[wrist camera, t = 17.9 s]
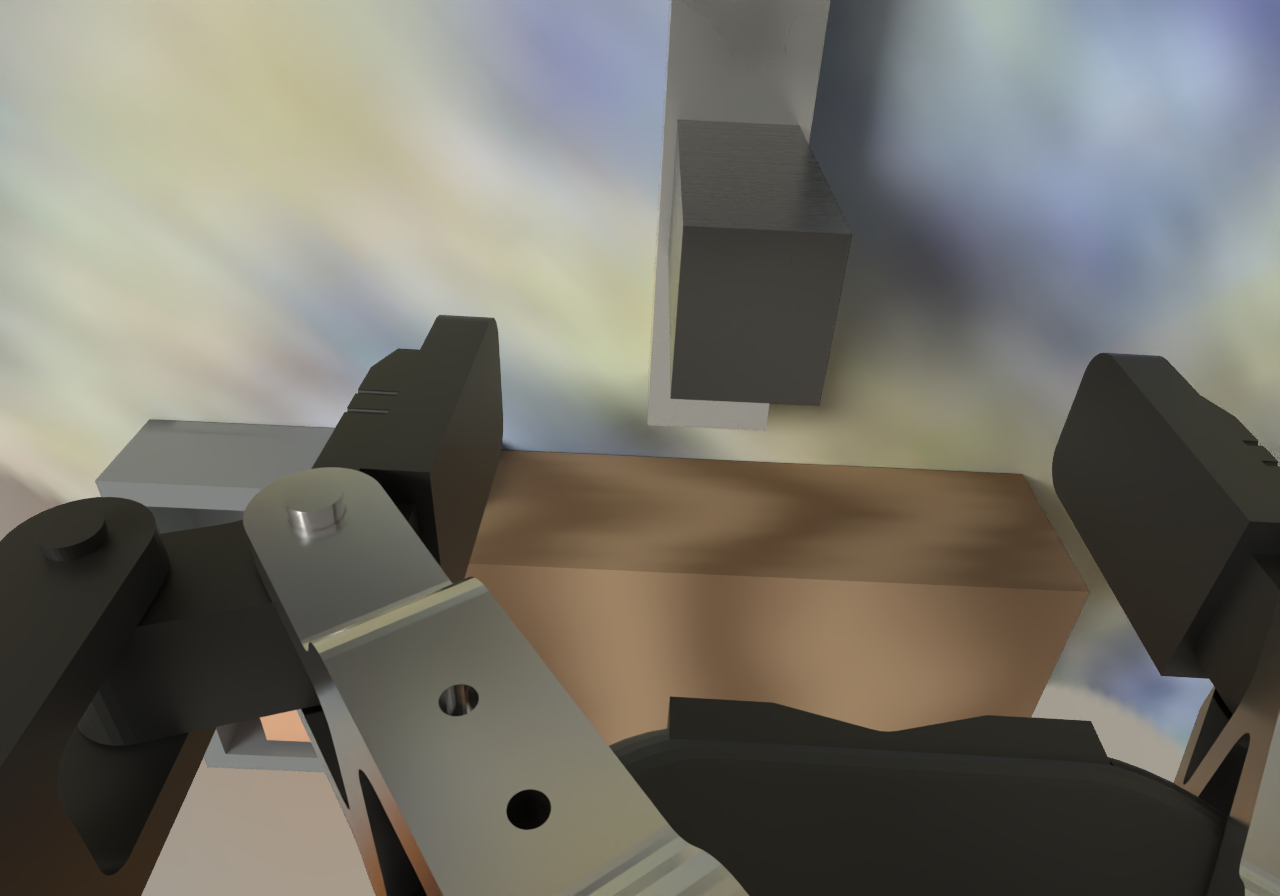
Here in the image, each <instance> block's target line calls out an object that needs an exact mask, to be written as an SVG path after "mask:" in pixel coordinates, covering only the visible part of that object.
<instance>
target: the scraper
mask: <svg viewBox="0 0 1280 896" xmlns="http://www.w3.org/2000/svg"><path fill="white" fill-rule="evenodd" d="M830 1H831V0H669V18H668V36H667V54H666V72H665V90H664V108H663V126H662V144H661V161H660V179H659V197H658V215H657V233H656V251H655V269H654V287H653V305H652V322H651V340H650V358H649V385H648V425H656V426H677V427H698V428H719V429H741V430H762V431H766V425H767V418H768V411H769V405H770V404H790V405H811V406H819V405H820V400H821V395H822V389H823V384H824V379H825V373H826V368H827V363H828V358H829V352H830V347H831V342H832V337H833V331H834V326H835V321H836V316H837V310H838V305H839V300H840V294H841V289H842V284H843V279H844V273H845V268H846V263H847V258H848V252H849V247H850V242H851V237H852V233H851V231H850V229H849V227H848V225H847V223H846V221H845V219H844V217H843V215H842V212H841V210H840V208H839V206H838V204H837V202H836V200H835V198H834V196H833V194H832V192H831V190H830V188H829V186H828V184H827V182H826V179H825V177H824V175H823V173H822V171H821V169H820V167H819V165H818V163H817V161H816V159H815V157H814V155H813V153H812V151H811V148H810V146H809V140H810V133H811V127H812V120H813V113H814V107H815V100H816V93H817V87H818V80H819V74H820V67H821V60H822V54H823V47H824V41H825V34H826V27H827V21H828V14H829V7H830Z"/></svg>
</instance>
